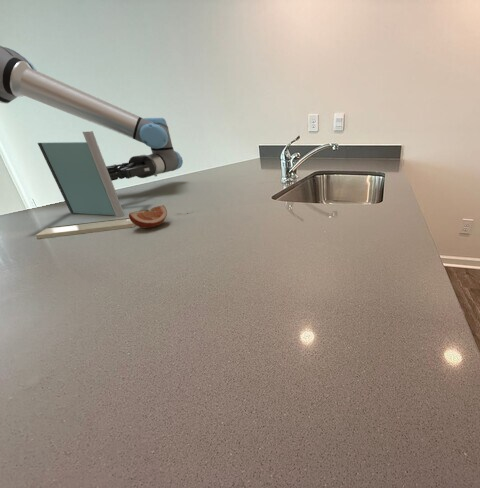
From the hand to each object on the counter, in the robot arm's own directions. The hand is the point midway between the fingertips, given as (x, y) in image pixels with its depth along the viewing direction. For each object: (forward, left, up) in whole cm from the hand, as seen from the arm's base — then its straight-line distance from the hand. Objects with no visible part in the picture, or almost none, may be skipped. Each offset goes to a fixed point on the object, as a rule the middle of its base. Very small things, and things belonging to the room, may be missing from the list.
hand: (82, 178), depth 73 cm
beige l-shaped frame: (+4, -9, -11) cm, 14 cm away
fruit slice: (+19, -19, -11) cm, 29 cm away
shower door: (+3, -1, -9) cm, 10 cm away
